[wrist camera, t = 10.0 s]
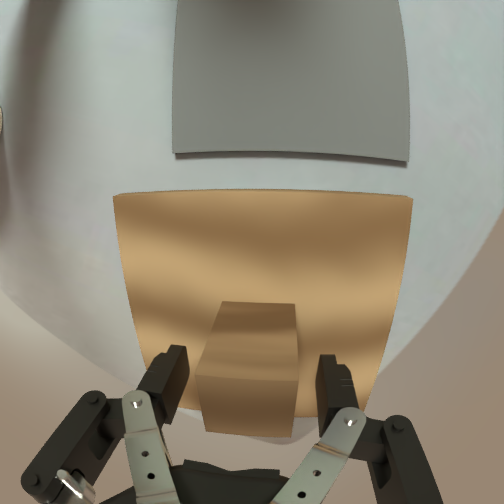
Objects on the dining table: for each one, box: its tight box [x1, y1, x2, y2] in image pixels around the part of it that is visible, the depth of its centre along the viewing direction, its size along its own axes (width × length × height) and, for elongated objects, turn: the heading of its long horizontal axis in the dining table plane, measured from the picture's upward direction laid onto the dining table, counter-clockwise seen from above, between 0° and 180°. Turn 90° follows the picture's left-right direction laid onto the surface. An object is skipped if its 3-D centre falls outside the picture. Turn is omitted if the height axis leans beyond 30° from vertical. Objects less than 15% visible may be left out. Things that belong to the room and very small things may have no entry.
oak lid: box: [113, 189, 413, 437], centre depth 14 cm, size 16×16×7 cm
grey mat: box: [172, 0, 410, 162], centre depth 17 cm, size 18×18×1 cm
